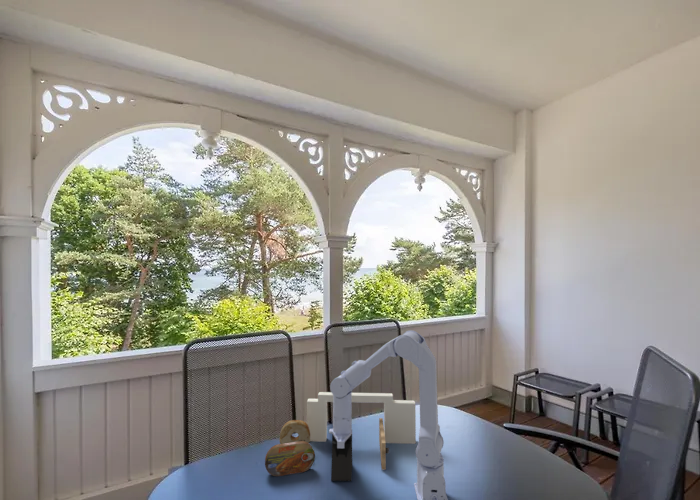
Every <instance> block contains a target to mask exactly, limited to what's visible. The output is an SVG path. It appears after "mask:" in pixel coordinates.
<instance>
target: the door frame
mask: <svg viewBox="0 0 700 500" xmlns="http://www.w3.org/2000/svg"><path fill="white" fill-rule="evenodd" d="M328 403H333V394H332V392H331V391H319V392H318V394H317V398H307V400H306V423H307V425H308V427H309V430H310V442H319V443H321V442H325V443H326V442H327V438H328V437H327V436H328V429H327V428H328ZM352 403H362V404H363V403H366V404H367V403H368V404H369V403H370V404H371V403H372V404H373V403H374V404H383V417H384V418H383V419H384V420H383V426H384V434H385V442H386V444H404V445H405V444H406V445H407V444H411V445H412V444H413V445H414V444H416V443H417V439H416V435H417V434H416V433H417V431H416V430H417V429H416V428H417V427H416V419H417V418H416V401H415V400H412V399H411V400H410V399H409V400H406V399H405V400H404V399H394V394H393V393H391V392H390V393H389V392H388V393H387V392H352Z"/></svg>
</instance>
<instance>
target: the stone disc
mask: <svg viewBox="0 0 700 500" xmlns="http://www.w3.org/2000/svg"><path fill="white" fill-rule="evenodd" d="M295 433H296V434H297V435H298V436H294V435H293V434H295ZM298 441H305V442H308V443H309V444H310V442H311V441H310V430H309V427H308V425H307V421H305V420H300V419H292V420H288V421H287V422H285V423H284V424H283V426H282V427H281V430H280V432H279V444H284V443H291V442H298Z"/></svg>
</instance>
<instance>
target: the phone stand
mask: <svg viewBox="0 0 700 500" xmlns="http://www.w3.org/2000/svg"><path fill="white" fill-rule="evenodd" d="M331 435H332V437H331V442H332V441H333V440H336V439H335V437H334V435H333V434H331ZM346 441H351V445H350V448H349V450H348V453H347V457H345V455H341V454H339V455H338V457H337V456H336V452H335V449H334V447H333V445H332V444H331V470H330V472H331V475H330V476H331V477H330V478H331V479H330V481H331V482H352V478H353V433H352V434H351V436H350V437H349V438H348V439H347V440H346Z"/></svg>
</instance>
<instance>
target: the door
mask: <svg viewBox="0 0 700 500" xmlns="http://www.w3.org/2000/svg"><path fill="white" fill-rule="evenodd" d="M383 419H384V418H383V417H379V420H378V425H379V426H378V427H379V428H378V431H379V432H378V434H379V435H378V436H379V437H378V439H379V440H378V441H379V453H380V454H379V455H380V462H381V463H380V465H381V471H385V470H386V469H387V467H386V465H387V463H386V460H387V459H386V454H390V447H387V446H386V445H387V443H386V442H385V434H384V420H383Z"/></svg>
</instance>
